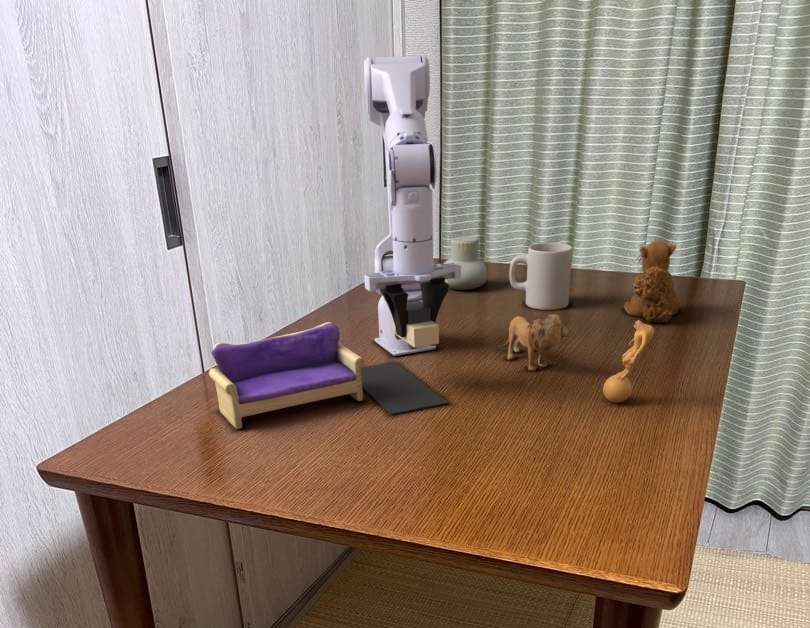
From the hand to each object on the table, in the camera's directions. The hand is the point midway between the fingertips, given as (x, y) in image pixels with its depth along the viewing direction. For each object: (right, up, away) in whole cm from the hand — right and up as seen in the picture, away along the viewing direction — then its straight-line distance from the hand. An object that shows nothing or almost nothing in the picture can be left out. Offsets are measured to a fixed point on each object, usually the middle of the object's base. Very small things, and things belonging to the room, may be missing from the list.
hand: (414, 333), depth 121 cm
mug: (+25, +16, +41) cm, 51 cm away
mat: (-3, -7, +4) cm, 9 cm away
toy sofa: (-18, -11, -1) cm, 22 cm away
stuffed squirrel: (+45, +11, +31) cm, 56 cm away
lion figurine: (+19, -2, +12) cm, 23 cm away
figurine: (+30, -11, -3) cm, 32 cm away
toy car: (0, -1, +1) cm, 1 cm away
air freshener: (+11, +24, +54) cm, 60 cm away
